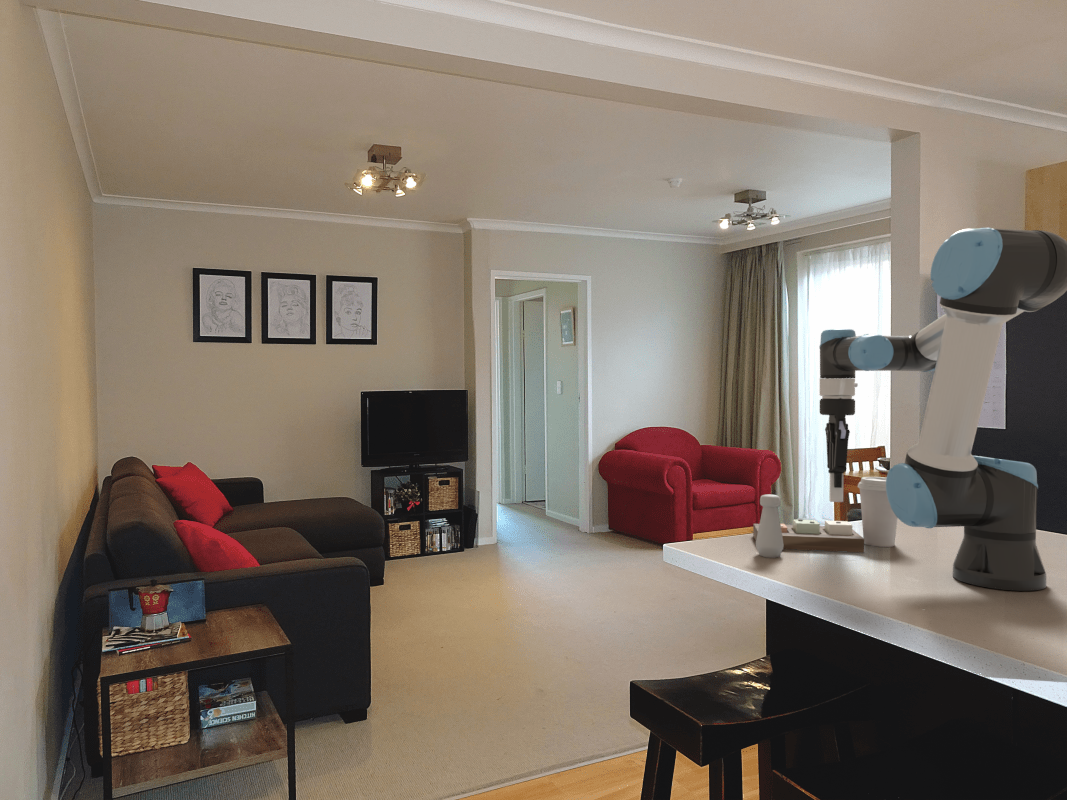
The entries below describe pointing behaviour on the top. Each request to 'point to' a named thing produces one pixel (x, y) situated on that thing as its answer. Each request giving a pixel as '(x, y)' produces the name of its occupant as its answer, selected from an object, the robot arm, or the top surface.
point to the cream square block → (838, 528)
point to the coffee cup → (877, 513)
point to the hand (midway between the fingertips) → (836, 501)
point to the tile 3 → (783, 528)
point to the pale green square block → (806, 526)
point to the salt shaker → (769, 528)
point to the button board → (819, 540)
